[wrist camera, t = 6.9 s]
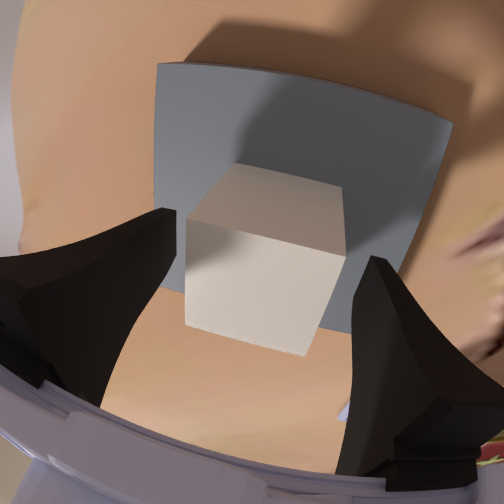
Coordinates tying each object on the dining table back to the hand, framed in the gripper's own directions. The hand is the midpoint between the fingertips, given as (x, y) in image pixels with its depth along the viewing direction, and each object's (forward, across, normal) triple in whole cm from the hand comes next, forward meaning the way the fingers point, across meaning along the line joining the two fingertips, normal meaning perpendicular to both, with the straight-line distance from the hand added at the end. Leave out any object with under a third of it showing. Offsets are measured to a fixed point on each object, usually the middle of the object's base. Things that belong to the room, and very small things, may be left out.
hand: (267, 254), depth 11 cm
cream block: (+3, 0, 0) cm, 3 cm away
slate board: (+5, 0, 0) cm, 5 cm away
